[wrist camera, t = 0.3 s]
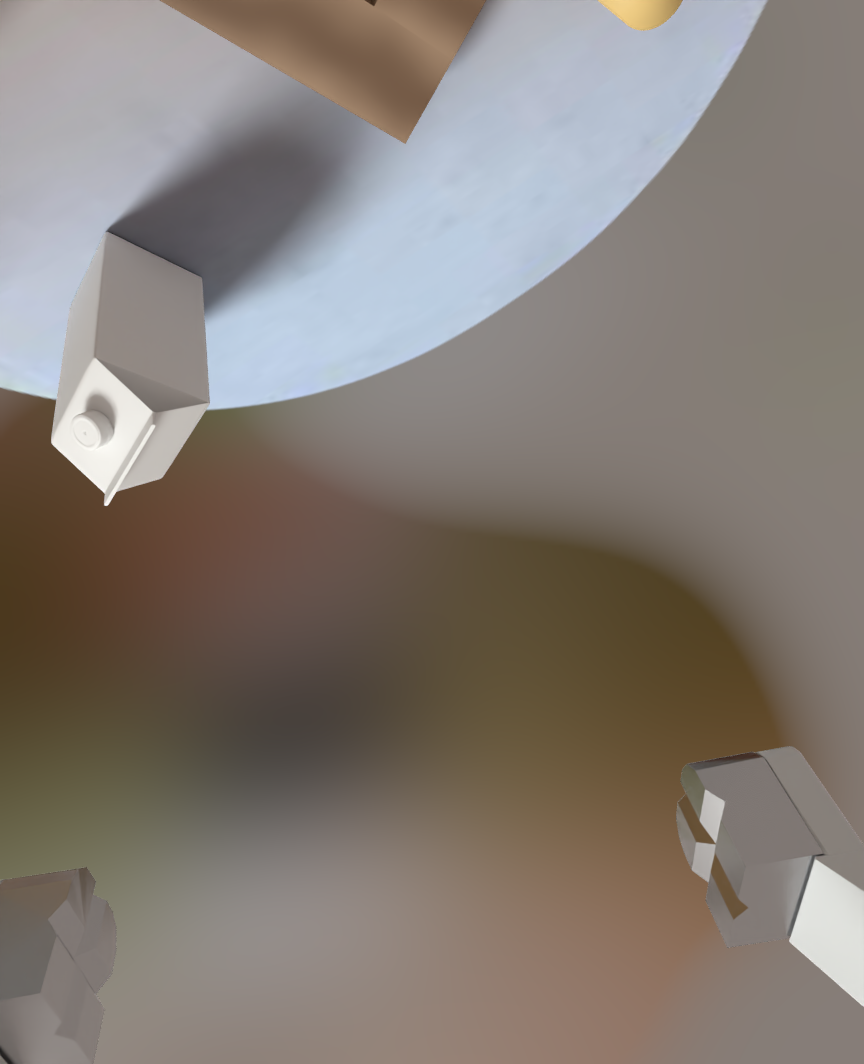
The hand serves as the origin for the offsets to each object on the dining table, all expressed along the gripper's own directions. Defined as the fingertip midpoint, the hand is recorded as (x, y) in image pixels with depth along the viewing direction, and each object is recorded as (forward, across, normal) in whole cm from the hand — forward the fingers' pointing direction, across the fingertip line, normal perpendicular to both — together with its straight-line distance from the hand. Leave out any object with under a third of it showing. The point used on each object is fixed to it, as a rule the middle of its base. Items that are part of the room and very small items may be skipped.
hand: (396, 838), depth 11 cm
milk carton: (+54, +15, +6) cm, 56 cm away
